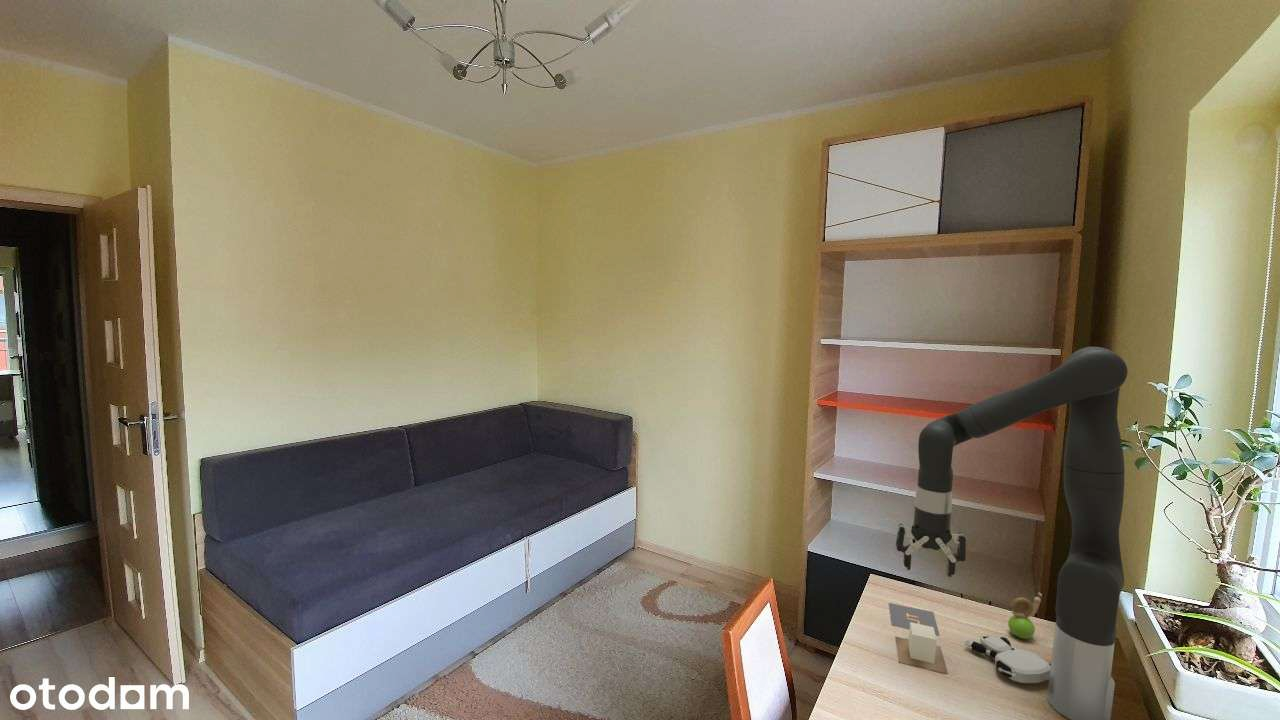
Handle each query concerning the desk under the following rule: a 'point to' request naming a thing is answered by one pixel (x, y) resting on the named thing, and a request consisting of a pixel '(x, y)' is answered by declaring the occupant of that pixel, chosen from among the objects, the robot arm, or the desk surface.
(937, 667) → the walnut board
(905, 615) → the mat
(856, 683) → the desk surface
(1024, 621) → the snail figurine
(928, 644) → the white block
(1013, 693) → the desk surface
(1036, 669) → the robot toy
